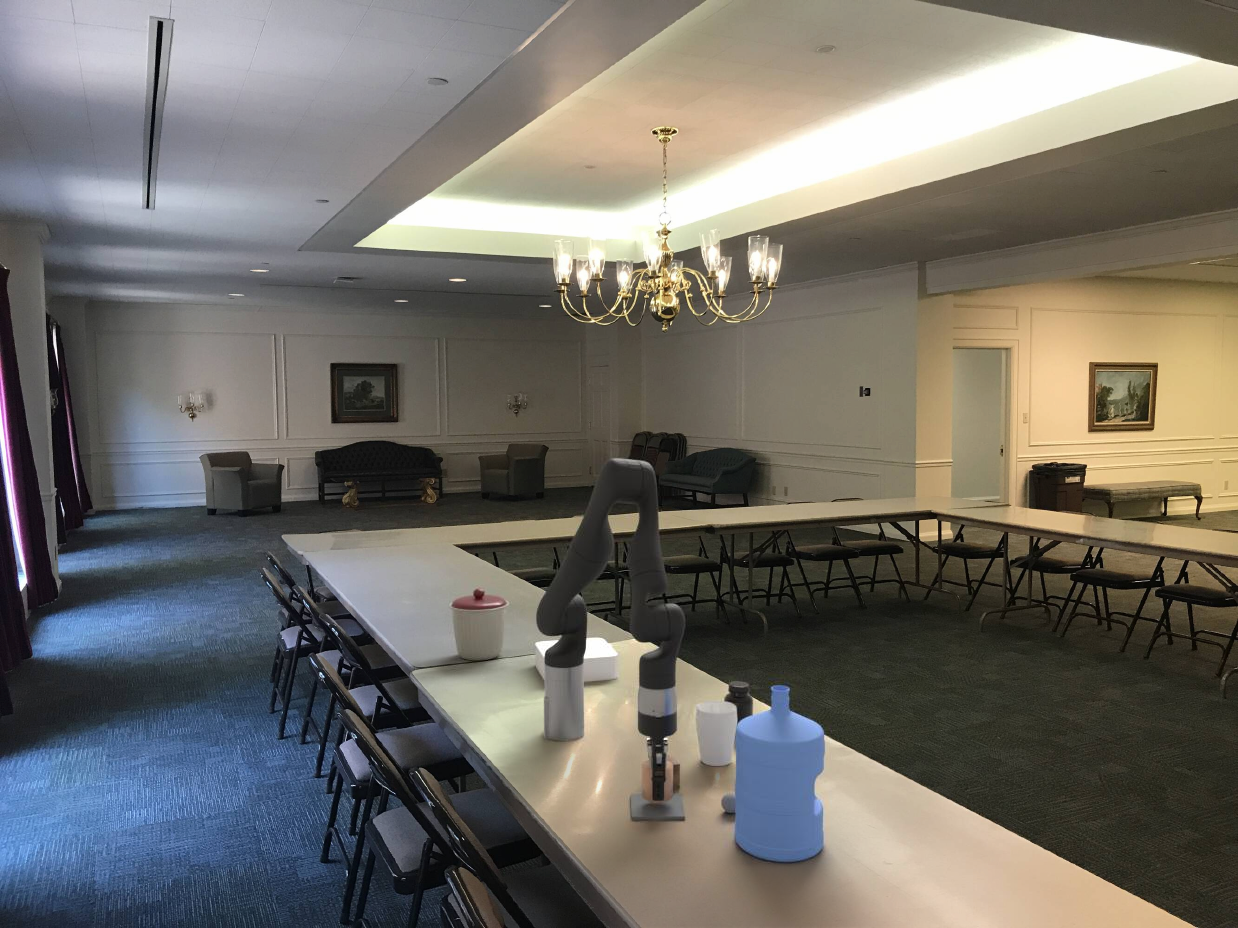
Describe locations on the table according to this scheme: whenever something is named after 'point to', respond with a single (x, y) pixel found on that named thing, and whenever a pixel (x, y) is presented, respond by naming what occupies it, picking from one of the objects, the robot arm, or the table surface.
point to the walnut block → (675, 771)
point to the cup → (716, 731)
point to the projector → (586, 659)
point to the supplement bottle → (740, 699)
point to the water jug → (779, 783)
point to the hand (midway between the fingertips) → (657, 792)
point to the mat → (657, 808)
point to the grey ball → (729, 802)
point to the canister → (479, 625)
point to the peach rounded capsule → (648, 782)
